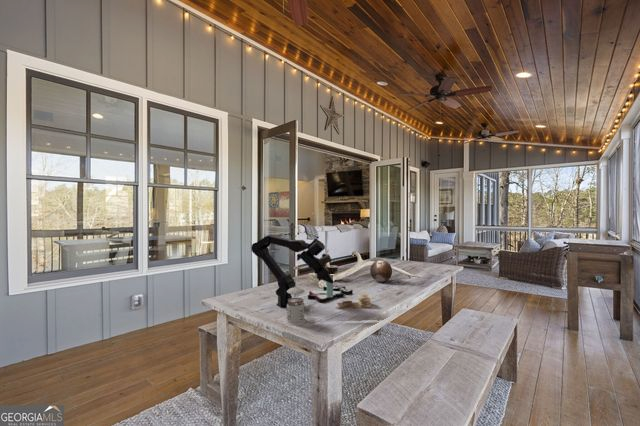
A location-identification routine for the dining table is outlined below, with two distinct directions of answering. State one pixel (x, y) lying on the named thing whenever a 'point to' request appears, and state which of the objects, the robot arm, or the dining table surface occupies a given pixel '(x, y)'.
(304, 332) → the dining table surface
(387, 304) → the dining table surface
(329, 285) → the plank
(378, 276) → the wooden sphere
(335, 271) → the coffee mug
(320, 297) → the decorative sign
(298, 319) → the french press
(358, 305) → the rack
